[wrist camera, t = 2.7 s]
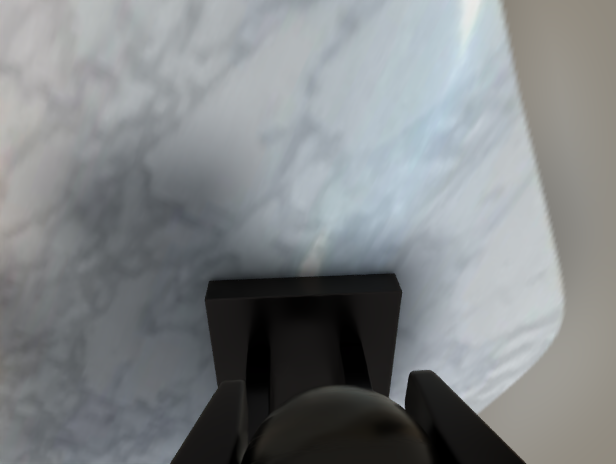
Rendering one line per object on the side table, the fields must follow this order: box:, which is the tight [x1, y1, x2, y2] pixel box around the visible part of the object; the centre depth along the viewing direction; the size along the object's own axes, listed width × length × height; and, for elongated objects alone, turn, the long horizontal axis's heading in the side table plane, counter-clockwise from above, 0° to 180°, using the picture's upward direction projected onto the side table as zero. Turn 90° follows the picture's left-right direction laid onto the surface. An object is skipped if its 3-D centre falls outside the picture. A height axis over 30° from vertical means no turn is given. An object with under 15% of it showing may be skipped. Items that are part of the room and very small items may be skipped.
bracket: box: [205, 274, 402, 445], centre depth 17 cm, size 10×8×10 cm
